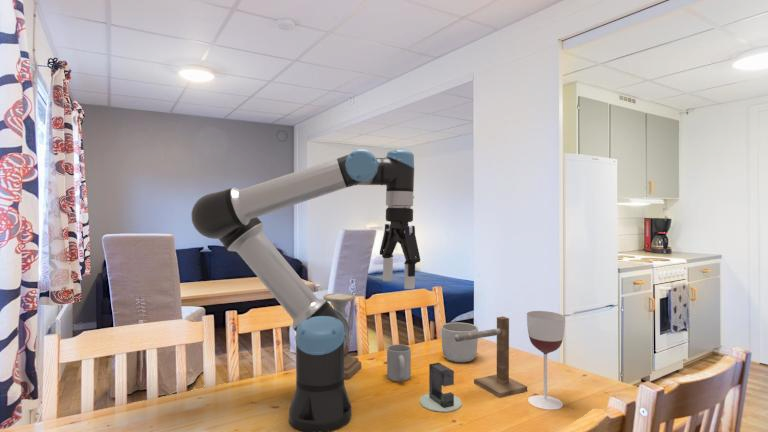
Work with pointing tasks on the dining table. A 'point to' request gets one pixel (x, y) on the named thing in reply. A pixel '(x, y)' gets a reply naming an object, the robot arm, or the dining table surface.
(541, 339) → the wineglass
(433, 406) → the coaster
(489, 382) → the stand
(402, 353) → the cup
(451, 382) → the link
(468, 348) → the planter
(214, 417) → the dining table surface
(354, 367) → the candle holder
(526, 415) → the dining table surface
